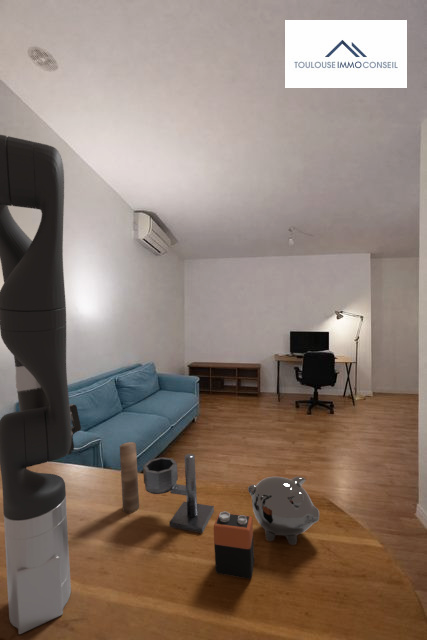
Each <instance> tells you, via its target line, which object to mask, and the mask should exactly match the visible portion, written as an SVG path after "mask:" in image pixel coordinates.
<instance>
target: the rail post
mask: <svg viewBox="0 0 427 640" xmlns="http://www.w3.org/2000/svg"><path fill="white" fill-rule="evenodd" d="M119 458H120V459H119V461H120V473H121V474H120V476H121V477H120V478H121V479H120V480H121V481H120V482H121V496H122V497H121V498H122V512H124V513H125V514H131V513H130V512H132V513H135V512H136V511H137V510H138V509H139V508H140V497H139V495H140V494H139V481H138V461H137V460H138V457H137V444H136V442H132V441H131V442H125V443H122V444H120V446H119ZM135 510H136V511H135Z"/></svg>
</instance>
